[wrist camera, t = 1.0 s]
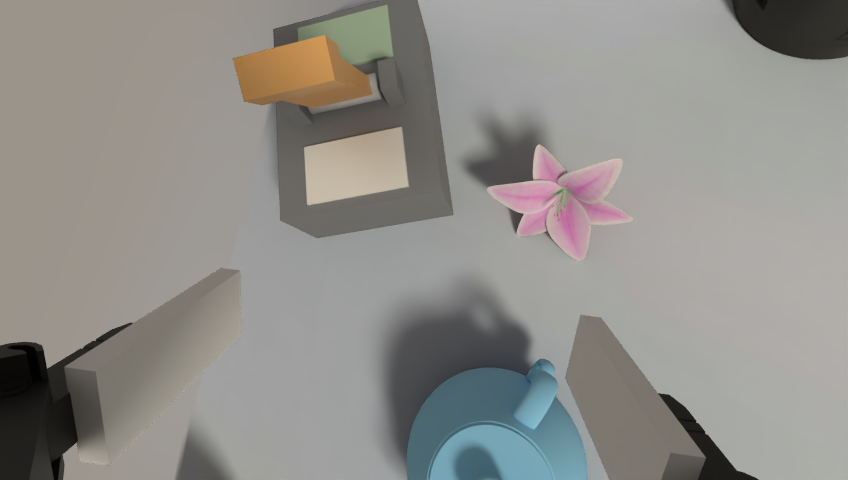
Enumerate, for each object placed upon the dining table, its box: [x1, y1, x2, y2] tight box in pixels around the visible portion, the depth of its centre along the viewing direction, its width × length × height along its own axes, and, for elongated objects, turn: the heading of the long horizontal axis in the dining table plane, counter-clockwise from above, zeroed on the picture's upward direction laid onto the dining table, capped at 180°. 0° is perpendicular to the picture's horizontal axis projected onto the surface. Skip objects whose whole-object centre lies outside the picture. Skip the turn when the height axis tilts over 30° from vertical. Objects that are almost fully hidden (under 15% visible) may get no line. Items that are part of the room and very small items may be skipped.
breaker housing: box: [273, 0, 453, 238], centre depth 43 cm, size 22×16×11 cm
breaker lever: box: [233, 35, 383, 114], centre depth 34 cm, size 3×7×14 cm, turn 97°
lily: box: [486, 144, 633, 261], centre depth 39 cm, size 12×12×10 cm
